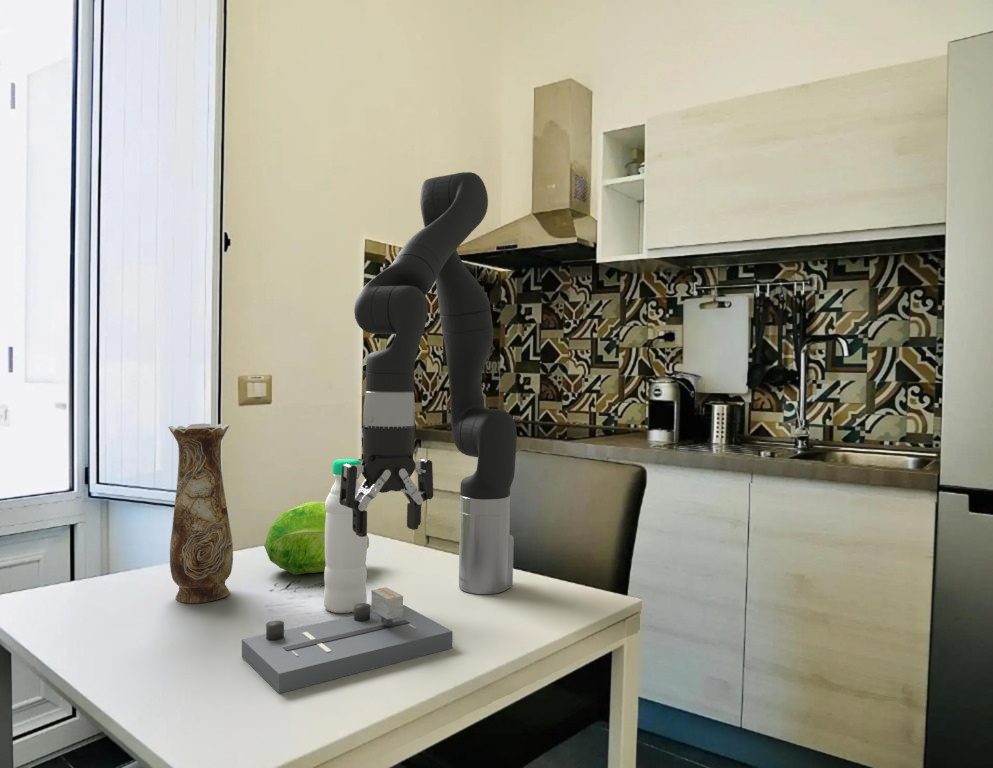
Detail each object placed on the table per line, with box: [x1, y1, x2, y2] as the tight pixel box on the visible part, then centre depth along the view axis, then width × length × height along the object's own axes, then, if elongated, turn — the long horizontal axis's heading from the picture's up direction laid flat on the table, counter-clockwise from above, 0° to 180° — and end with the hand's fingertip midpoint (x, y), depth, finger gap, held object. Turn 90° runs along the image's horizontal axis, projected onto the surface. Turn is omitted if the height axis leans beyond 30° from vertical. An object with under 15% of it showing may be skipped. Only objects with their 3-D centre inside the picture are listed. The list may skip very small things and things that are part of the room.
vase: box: [167, 423, 234, 604], centre depth 129 cm, size 10×11×30 cm
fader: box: [370, 586, 404, 626], centre depth 109 cm, size 2×5×5 cm, turn 37°
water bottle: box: [323, 458, 368, 614], centre depth 125 cm, size 7×7×25 cm
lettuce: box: [263, 500, 370, 575], centre depth 146 cm, size 15×20×14 cm
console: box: [241, 602, 454, 694], centre depth 106 cm, size 26×14×4 cm, turn 127°
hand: (387, 532), depth 109 cm, fingers open, 8 cm apart
